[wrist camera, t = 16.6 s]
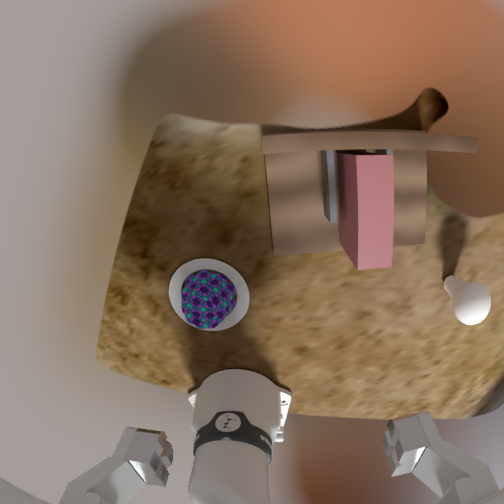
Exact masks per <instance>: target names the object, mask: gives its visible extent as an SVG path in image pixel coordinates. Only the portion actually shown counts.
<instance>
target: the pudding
mask: <svg viewBox="0 0 504 504" xmlns="http://www.w3.org/2000/svg"><path fill="white" fill-rule="evenodd" d="M203 269H210V270H215V271H218V272H220V273H214V274H213V273H212V272H210V271H209V270H203ZM198 270H201V271H199V272H198V274H197V275H190V274H191V273H193V272H195V271H198ZM221 273H222V274H221ZM223 274H224V275H225V276H227V277H228V278H229V279H230V280H231V281H232V283H233V284H234V286H235V288H236V290H235V288H234V286H233V285H232V284H229V283H228V281H227V278H226V277H225V276H224V275H223ZM189 275H190V276H189ZM188 276H189V277H188ZM186 278H187V279H186ZM185 279H186V281H185V287H184V288H183V289H182V296H181V288H182V284H183V282H184V280H185ZM236 291H237V303H236V306H235V300H234V298H233V297H234V296H235V294H236ZM169 297H170V301H171V304H172V306H173V308H174V310H175V312H176V313H177V314H178V315H179V316H180V317H181V318H182V319H183V320H184V321H185V322H187V323H188V324H190V325H191V326H194V327H196V328H199V329H202V330H207V331H219V330H224V329H228V328H230V327H232V326H234V325H235V324H237V323H238V322H239V321H240V320H241V319H242V318H243V317H244V315H245V314H246V312H247V309H248V307H249V301H250V299H249V291H248V287H247V285H246V282H245V281H244V279H243V278H242V276H241V275H240V274H239V273H238V272H237V271H236V270H235V269H234V268H232V267H231V266H230V265H228V264H226V263H224V262H221V261H218V260H214V259H196V260H192V261H189V262H187V263H185V264H184V265H182V266H181V267H180V268H179V269H177V270H176V272H175V273H174V275H173V276H172V279H171V281H170V285H169ZM234 306H235V308H234ZM233 308H234V309H233ZM232 309H233V311H232V312H231V313H230V311H231V310H232ZM229 313H230V314H229ZM228 314H229V315H228Z"/></svg>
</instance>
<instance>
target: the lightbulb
mask: <svg viewBox="0 0 504 504" xmlns="http://www.w3.org/2000/svg"><path fill="white" fill-rule="evenodd" d="M444 288H445V289H446V290H447V291H448V294H449V296H450V297H451V298H452V300H453V309H454V313H455V315H456V317H457V318H458V319H459V320H460V321H461V322H462V323H464V324H468V325H474V324H477V323H480V322H481V321H482V320H484V319H485V317H486V316H487V315H488V313H489V310H490V307H491V298H490V294H489V292H488V290H487V289H486V287H485V286H483V285H482V284H480V283H477V282H464V281H462V280H461V279H458V278H456V277H455V276H453V275H450V276H448V277H447V278H446V279H445V281H444Z"/></svg>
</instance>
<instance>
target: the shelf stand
mask: <svg viewBox="0 0 504 504" xmlns="http://www.w3.org/2000/svg"><path fill="white" fill-rule="evenodd" d="M261 138H262V148H263V154H265V162H266V172H267V183H268V194H269V205H270V216H271V228H272V240H273V252H274V256H279V255H292V254H305V253H317V252H330V251H342V250H344V249H343V247H342V246H341V244H340V218H339V191H338V171H337V156H336V153H337V152H372V153H380V154H388V155H393V170H394V228H393V246H403V245H415V244H424V242H425V227H426V205H427V158H426V150H436V151H452V152H467V153H477V138H472V137H462V136H453V135H440V134H427V133H425V131H418V130H398V129H321V130H300V131H284V132H271V133H263V136H261Z"/></svg>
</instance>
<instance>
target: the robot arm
mask: <svg viewBox="0 0 504 504" xmlns="http://www.w3.org/2000/svg"><path fill="white" fill-rule="evenodd" d="M291 396H292V394H291V392H290V391H288V390H286V389H283V388H280V387H278V386H276V385H275V384H274V383H273V382H272V381H270V380H269V379H268V378H266V377H265V376H263V375H261V374H259V373H256V372H253V371H249V370H242V369H229V370H223V371H219V372H216V373H214V374H212V375H210V376H209V377H207V378H206V379H205V380H204V381H203V383H202V384H201V386H200V387H199V388H198V389H196V390H194V391H192V392H191V393H190V394H189V398H188V399H189V401H190V403H191V405H192V406H193V414H192V420H191V428H192V429H193V431H194V432H195V434H196V438H195V440H194V450H193V453H194V456H195V458H194V462H193V467H192V472H191V476H190V481H189V485H188V492H189V495H190V498H191V500H192V501H193V502H194V504H272V503H271V499H270V490H269V468H268V467H269V464H270V462H271V458H272V453H273V449H272V447H273V445H274V442H282V441H283V437H284V431H283V427H284V423H285V420H286V416H287V413H288V409H289V405H290V402H291ZM283 400H285V401H283ZM387 427H388V430H387V431H386V432H385V433H384V437H383V447H384V451H385V454H386V455H387V456H389V457H390V460H389V462H388V466H389V469H390V473H391V476H397V475H401V474H406V473H409V472H412V473H413V474H414V475H415V476H416V477H418V478H419V479H420V480H421V481H422V482H423V483H425V484H426V485H427V486H428V487H429V488H431V489H432V490H433V491H434V492H435V493H436V494H438V495H439V496H440V497H441V499H440V500H439V501H438V502H437V503H436V504H504V488H503V489H501V490H499V489H498V486H497V484H496V482H495V479H494V477H493V475H492V473H491V471H490V468H489V466H488V465H486V464H484V463H483V462H481V461H479V460H478V459H476V458H474V457H472V456H471V455H469V454H467V453H465V452H464V451H462V450H461V449H459V448H457V447H456V446H454V445H452V444H451V443H449V442H447V441H444V442H443V441H442V439H441V436H440V434H439V432H438V430H437V428H436V426H435V423H434V421H433V419H432V417H431V415H430V413H429V412H428V411H423V412H419V413H416V414H410V415H406V416H402V417H398V418H394V419H390V420H389V421H388V424H387ZM166 439H167V436H166V434H165V432H163V431H155V430H147V429H140V428H134V427H126V428H125V429H124V431H123V433H122V436H121V438H120V440H119V442H118V444H117V447H116V449H115V451H114V454H113V456H112V457H108V458H107V459H105V460H104V461H102V462H100V463H99V464H98V465H96V466H94V467H93V468H91V469H90V470H88V471H87V472H85V473H84V474H82V475H81V476H79V477H77V478H76V479H74V480H73V481H71V482H70V483H68V485H67V487H66V489H65V491H64V493H63V496H62V498H61V500H60V502H59V504H125V503H126V502H127V501H129V500H130V499H131V498H132V497H133V496H134V495H135V494H136V493H137V492H138V491H140V490H141V489H142V488H143V487H144V486H145V484H151V485H157V486H166V483H167V480H168V476H169V472H168V470H167V468H168V467H169V466H170V465H171V464H172V461H173V448H172V445H171V443H169V442H168V441H166ZM0 504H50V503H48V502H45V501H43V500H41V499H39V498H37V497H35V496H33V495H31V494H29V493H28V492H26V491H24V490H22V489H20V488H18V487H17V486H15V485H13V484H11V483H10V482H8V481H6V480H4V479H3V478H1V477H0Z"/></svg>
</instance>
